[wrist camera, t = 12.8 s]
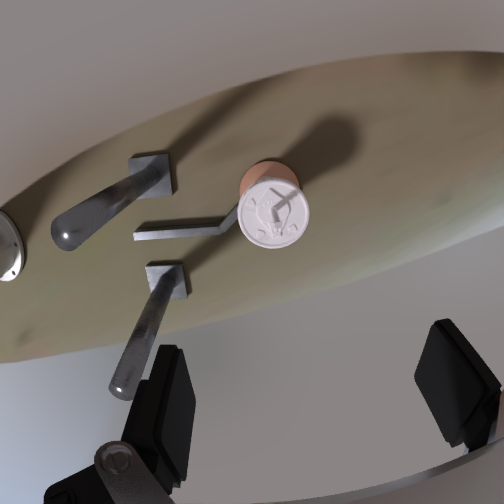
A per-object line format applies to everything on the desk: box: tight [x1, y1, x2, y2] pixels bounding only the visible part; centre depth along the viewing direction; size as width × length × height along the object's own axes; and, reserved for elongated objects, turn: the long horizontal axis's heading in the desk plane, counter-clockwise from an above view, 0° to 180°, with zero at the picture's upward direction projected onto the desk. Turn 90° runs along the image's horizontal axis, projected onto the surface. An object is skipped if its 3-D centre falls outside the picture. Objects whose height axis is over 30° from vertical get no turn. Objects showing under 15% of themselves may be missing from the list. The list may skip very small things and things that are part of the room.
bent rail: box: [133, 203, 239, 240], centre depth 37 cm, size 14×3×2 cm, turn 93°
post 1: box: [51, 153, 173, 251], centre depth 26 cm, size 5×5×20 cm
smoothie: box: [237, 176, 309, 248], centre depth 29 cm, size 6×6×14 cm
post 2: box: [109, 263, 188, 401], centre depth 32 cm, size 5×5×20 cm
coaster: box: [240, 161, 300, 197], centre depth 36 cm, size 7×7×1 cm
